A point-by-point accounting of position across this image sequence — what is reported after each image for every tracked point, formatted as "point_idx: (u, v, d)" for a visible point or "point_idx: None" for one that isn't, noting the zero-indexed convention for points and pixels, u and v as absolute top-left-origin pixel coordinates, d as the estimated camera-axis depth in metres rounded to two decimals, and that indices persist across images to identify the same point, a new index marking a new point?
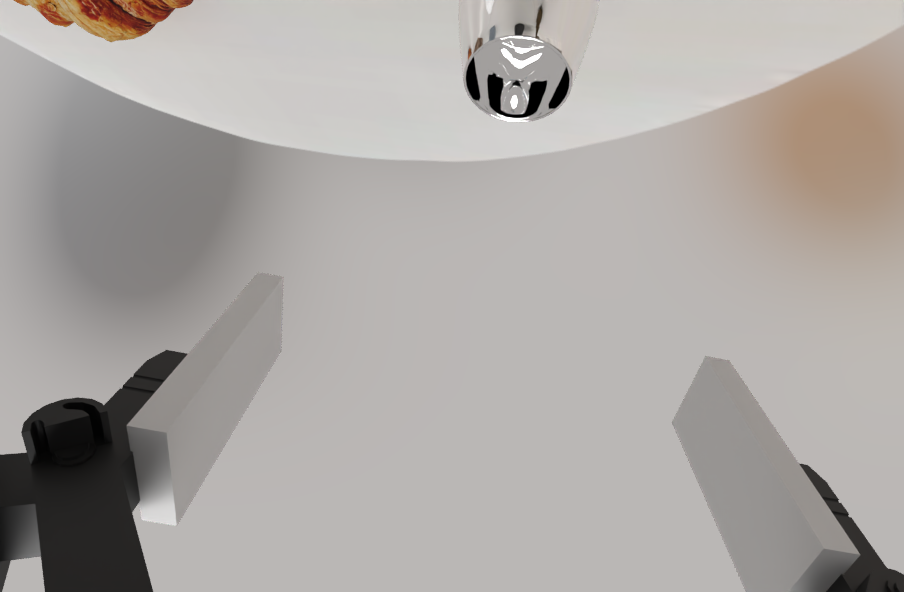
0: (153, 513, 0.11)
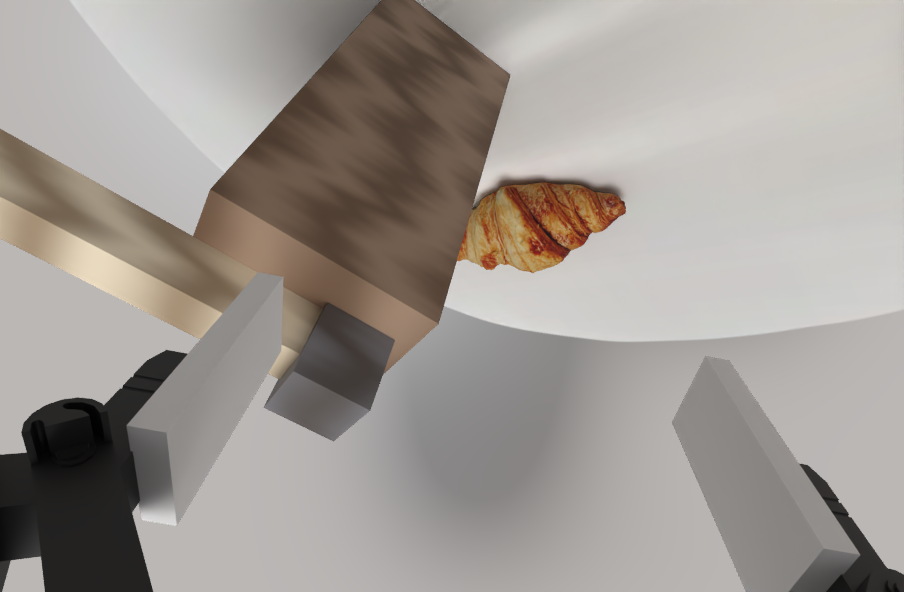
0: (152, 513, 0.11)
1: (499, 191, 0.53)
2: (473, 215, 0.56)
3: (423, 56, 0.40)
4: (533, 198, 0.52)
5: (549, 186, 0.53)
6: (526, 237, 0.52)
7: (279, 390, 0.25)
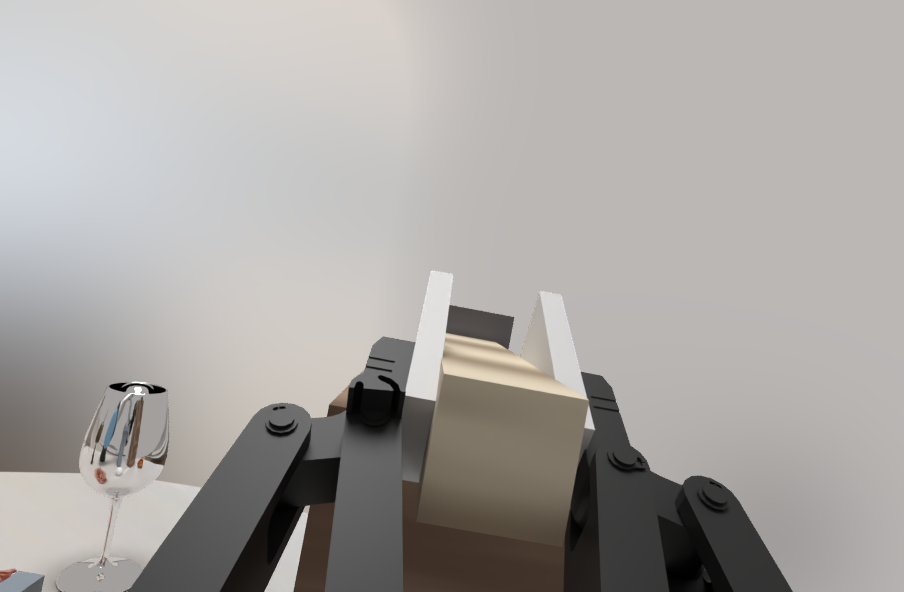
0: (402, 471, 0.13)
1: None
2: None
3: None
4: None
5: None
6: None
7: None
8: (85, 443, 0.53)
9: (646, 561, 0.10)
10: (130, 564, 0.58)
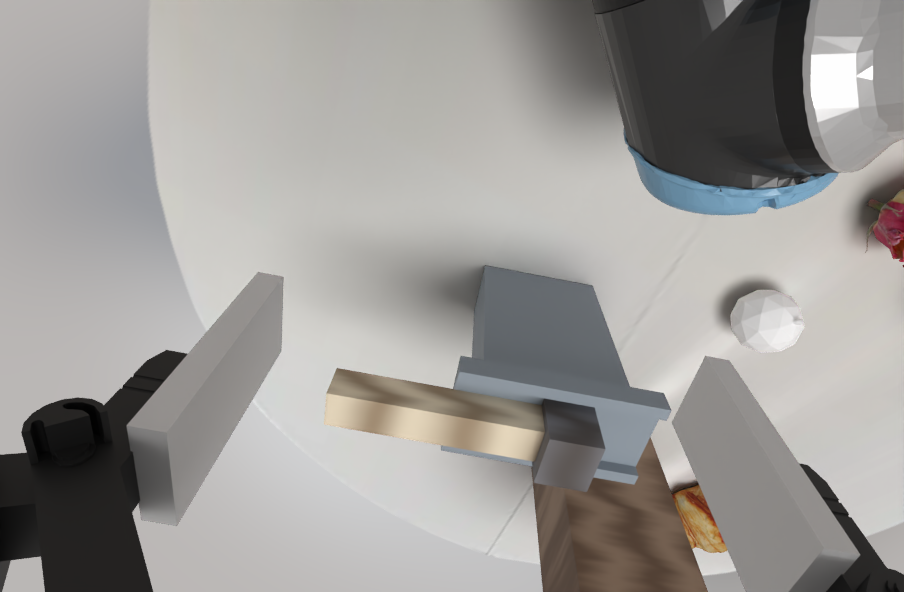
0: (153, 513, 0.11)
1: (680, 498, 0.70)
2: None
3: None
4: None
5: None
6: (716, 532, 0.67)
7: (542, 461, 0.38)
8: None
9: None
10: None
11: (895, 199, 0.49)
